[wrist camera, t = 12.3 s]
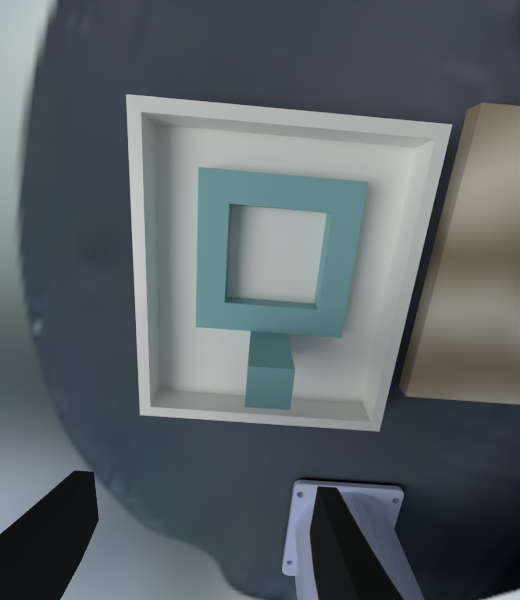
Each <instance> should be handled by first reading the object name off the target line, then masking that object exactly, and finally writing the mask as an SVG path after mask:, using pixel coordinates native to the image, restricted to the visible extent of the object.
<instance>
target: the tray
mask: <svg viewBox="0 0 520 600" xmlns="http://www.w3.org/2000/svg"><path fill="white" fill-rule="evenodd" d="M126 102H127V125H128V148H129V171H130V194H131V217H132V240H133V263H134V286H135V309H136V332H137V355H138V378H139V401H140V415H148V416H162V417H177V418H191V419H206V420H220V421H235V422H250V423H264V424H279V425H293V426H308V427H322V428H337V429H351V430H366V431H380V426H381V422H382V418H383V414H384V410H385V405H386V401H387V397H388V393H389V389H390V384H391V380H392V376H393V372H394V368H395V363H396V359H397V355H398V351H399V347H400V342H401V338H402V334H403V330H404V326H405V321H406V317H407V313H408V309H409V305H410V300H411V296H412V292H413V288H414V284H415V279H416V275H417V271H418V267H419V263H420V258H421V254H422V250H423V246H424V242H425V237H426V233H427V229H428V225H429V220H430V216H431V212H432V208H433V204H434V199H435V195H436V191H437V187H438V183H439V178H440V174H441V170H442V166H443V162H444V157H445V153H446V149H447V145H448V141H449V136H450V132H451V128H452V124H441V123H430V122H420V121H409V120H398V119H387V118H376V117H366V116H355V115H344V114H333V113H322V112H312V111H301V110H290V109H279V108H268V107H258V106H247V105H236V104H225V103H214V102H204V101H193V100H182V99H171V98H160V97H150V96H139V95H128V94H126ZM198 167H205V168H216V169H228V170H239V171H251V172H262V173H274V174H285V175H297V176H308V177H320V178H331V179H343V180H354V181H366V182H368V188H367V193H366V199H365V205H364V211H363V216H362V222H361V228H360V234H359V240H358V245H357V251H356V257H355V263H354V268H353V274H352V280H351V286H350V291H349V297H348V303H347V309H346V314H345V320H344V326H343V332H342V338H335V337H322V336H308V335H295V334H287V336H288V340H289V344H290V349H291V353H292V357H293V362H294V366H295V376H294V384H293V392H292V399H291V407H290V410H280V409H265V408H251V407H245V394H246V381H247V368H248V356H249V345H250V333H251V331H242V330H228V329H215V328H202V327H196V277H197V222H198ZM325 221H326V213H324V212H312V211H300V210H288V209H277V208H265V207H253V206H241V205H232V206H231V226H230V246H229V266H228V286H227V297H236V298H249V299H262V300H275V301H288V302H301V303H314V300H315V293H316V285H317V278H318V271H319V264H320V257H321V249H322V242H323V235H324V228H325Z"/></svg>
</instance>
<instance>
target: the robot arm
mask: <svg viewBox="0 0 520 600" xmlns="http://www.w3.org/2000/svg"><path fill="white" fill-rule="evenodd" d="M299 492H301V493H299ZM403 497H404V493H403V491H402V489H401V488H400V487H398V486H388V485H373V484H357V483H342V482H327V481H311V480H298V481H296V482H295V483H294V487H293V494H292V501H291V508H290V515H289V522H288V528H287V535H286V542H285V549H284V556H283V563H282V572H283V573H284V574H285V575H290V576H295V582H296V592H297V600H424V598H423V595H422V593H421V591H420V588H419V586H418V584H417V581H416V579H415V577H414V574H413V572H412V570H411V567H410V565H409V563H408V560H407V558H406V556H405V553H404V551H403V549H402V546H401V544H400V542H399V539H398V537H397V535H396V532H395V530H394V528H395V525H396V521H397V518H398V514H399V511H400V507H401V504H402V500H403ZM98 520H99V518H98V508H97V498H96V489H95V479H94V472H88V471H74V472H72V473H71V474H70V475H69V476H68V477H66V478H65V479H64V480H63V481H62V482H61V483H59V484H58V485H57V486H56V487H55V488H54V489H53V490H51V491H50V492H49V493H48V494H47V495H46V496H44V497H43V498H42V499H41V500H40V501H39V502H38V503H36V504H35V505H34V506H33V507H32V508H31V509H29V511H27V512H26V513H25V514H24V515H22V516H21V517H20V518H19V519H18V520H17V521H15V522H14V523H13V524H12V525H11V526H10V527H8V528H7V529H6V530H5V531H3V532H2V533H1V534H0V600H60V599H61V597H62V596H63V594H64V592H65V590H66V588H67V586H68V584H69V582H70V581H71V579H72V577H73V575H74V573H75V571H76V569H77V567H78V566H79V564H80V562H81V560H82V558H83V555H84V553H85V551H86V549H87V546H88V544H89V542H90V539H91V537H92V534H93V532H94V530H95V527H96V525H97V522H98Z"/></svg>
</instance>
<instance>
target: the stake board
mask: <svg viewBox="0 0 520 600" xmlns="http://www.w3.org/2000/svg"><path fill="white" fill-rule="evenodd" d="M399 389H400V390H401V391H402V392H403V393H404V395H405V396H407V397H421V398H435V399H449V400H463V401H477V402H491V403H505V404H519V405H520V106H514V105H503V104H493V103H480V104H478V105H476V106H474V107H472V108H470V109H468V110H467V112H466V116H465V120H464V125H463V129H462V133H461V137H460V141H459V145H458V149H457V153H456V157H455V161H454V165H453V169H452V173H451V177H450V181H449V185H448V189H447V193H446V197H445V201H444V205H443V209H442V213H441V217H440V221H439V225H438V230H437V234H436V238H435V242H434V246H433V250H432V254H431V258H430V262H429V266H428V270H427V274H426V278H425V282H424V286H423V290H422V294H421V298H420V302H419V306H418V310H417V314H416V318H415V322H414V326H413V330H412V334H411V339H410V343H409V347H408V351H407V355H406V359H405V363H404V367H403V371H402V375H401V379H400V383H399Z"/></svg>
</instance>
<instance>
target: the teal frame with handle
mask: <svg viewBox="0 0 520 600" xmlns="http://www.w3.org/2000/svg"><path fill="white" fill-rule="evenodd" d="M367 188H368V182H366V181H354V180H343V179H331V178H320V177H308V176H297V175H285V174H274V173H262V172H251V171H239V170H228V169H216V168H205V167H198V222H197V277H196V327H202V328H215V329H228V330H242V331H251V333H250V345H249V356H248V368H247V381H246V394H245V407H251V408H265V409H280V410H290V407H291V399H292V392H293V384H294V376H295V366H294V362H293V357H292V353H291V349H290V344H289V340H288V336H287V334H295V335H308V336H322V337H335V338H342V332H343V326H344V320H345V314H346V309H347V303H348V297H349V291H350V286H351V280H352V274H353V268H354V263H355V257H356V251H357V245H358V240H359V234H360V228H361V222H362V216H363V211H364V205H365V199H366V193H367ZM232 205H241V206H253V207H265V208H277V209H288V210H300V211H312V212H324V213H326V221H325V228H324V235H323V242H322V249H321V257H320V264H319V271H318V278H317V285H316V293H315V300H314V303H301V302H288V301H275V300H262V299H249V298H236V297H227V286H228V266H229V246H230V226H231V206H232Z"/></svg>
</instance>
